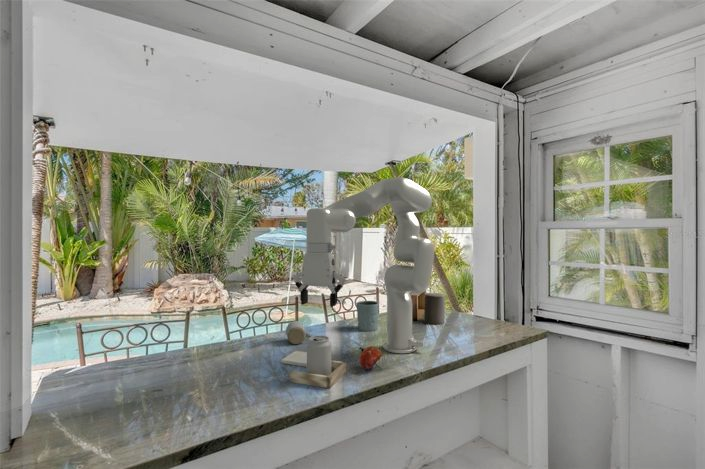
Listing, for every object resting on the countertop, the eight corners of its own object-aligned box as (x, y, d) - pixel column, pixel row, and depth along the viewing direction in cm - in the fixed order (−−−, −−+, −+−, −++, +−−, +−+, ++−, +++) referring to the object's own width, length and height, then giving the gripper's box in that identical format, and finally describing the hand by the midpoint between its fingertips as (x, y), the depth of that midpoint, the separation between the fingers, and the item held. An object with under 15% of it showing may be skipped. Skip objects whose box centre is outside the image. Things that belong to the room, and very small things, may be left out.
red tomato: (383, 372, 123) (362, 350, 127) (393, 358, 119) (372, 336, 124) (370, 382, 117) (349, 358, 121) (381, 367, 113) (359, 343, 118)
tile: (320, 356, 131) (320, 354, 131) (307, 366, 122) (307, 363, 122) (295, 353, 134) (295, 350, 134) (281, 362, 125) (281, 360, 125)
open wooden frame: (346, 371, 117) (346, 362, 117) (329, 388, 105) (329, 377, 105) (309, 366, 122) (309, 357, 122) (289, 381, 110) (289, 371, 110)
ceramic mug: (287, 346, 143) (287, 326, 143) (285, 339, 151) (285, 321, 151) (314, 344, 146) (314, 325, 146) (311, 338, 154) (311, 320, 154)
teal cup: (379, 332, 163) (379, 304, 163) (356, 331, 163) (356, 304, 163) (377, 326, 173) (377, 300, 173) (356, 325, 173) (356, 300, 173)
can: (307, 372, 117) (307, 334, 117) (331, 371, 118) (331, 334, 117) (306, 382, 109) (306, 341, 109) (331, 381, 110) (331, 341, 110)
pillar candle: (424, 324, 176) (425, 292, 176) (424, 319, 186) (424, 289, 186) (445, 325, 175) (446, 293, 174) (443, 320, 184) (444, 290, 184)
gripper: (349, 248, 113) (349, 304, 114) (299, 247, 120) (299, 300, 120) (340, 250, 106) (340, 309, 107) (287, 248, 112) (287, 305, 113)
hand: (318, 304), depth 113 cm, fingers open, 9 cm apart
